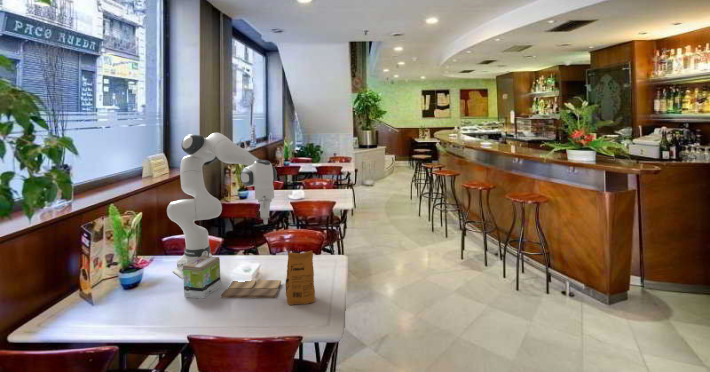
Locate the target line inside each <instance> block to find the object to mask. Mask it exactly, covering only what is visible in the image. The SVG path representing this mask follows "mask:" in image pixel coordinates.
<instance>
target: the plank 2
mask: <svg viewBox="0 0 710 372" xmlns="http://www.w3.org/2000/svg"><path fill="white" fill-rule="evenodd" d="M281 283H282V279H258V280H256V284H255V286H254V287H253V289H278V290H279V289H280V287H281Z"/></svg>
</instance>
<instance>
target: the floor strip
mask: <svg viewBox="0 0 710 372" xmlns="http://www.w3.org/2000/svg"><path fill="white" fill-rule="evenodd" d="M278 293H279V289H254V288H253V289H228V288H225V290H224V291H223V292H222V293H221V294H220V299H225V298H226V299H230V298H231V299H236V298H237V299H275V298H276V297H277V295H278Z"/></svg>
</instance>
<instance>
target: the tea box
mask: <svg viewBox="0 0 710 372" xmlns="http://www.w3.org/2000/svg"><path fill="white" fill-rule="evenodd" d="M220 261H221V260H220V256H212V257H210V256H200V257H198V258H197V259H195V260H193V261H191V262H189V263H187V264H185V265H184V266H183V279H182V280H183V295H184V298H191V299H205V298H206V297H208V296H209V295H211V293H213V292H214V291H216V290H217V289H219V288H220V287H221V285H222V284H221V262H220Z"/></svg>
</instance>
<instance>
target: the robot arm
mask: <svg viewBox="0 0 710 372" xmlns="http://www.w3.org/2000/svg"><path fill="white" fill-rule="evenodd" d="M181 149H182V150H183V152H184V153H186V154H187V155H185V156H184V157H183V158H182V159H181V161H180V166H179V169H180V170H179V171H180V172H179V176H180V177H179V179H180V188H181V190H182V192H183V193H184V194H187V195H189V196H192V197H193V198H187V199H186V198H185V199H177V200H174V201H170V203H169V204H168V205H167V208H166V214H167V217H168V218H169V220H171V221H172V222H174V223H176V224H177V226H179V227H180V229H181V230H182V231H183V235H184V240H185V241H184V242H185V247H184V248H183V251H184V253H183V255H182V256H181V257H180V258H179V259H177V262H176V267H175V268H174V269H172V273H173V274H175V275H176V276H177V277H180V279H182V280H184V279H183V266H184V265H185V264H187V263H189V262H191V261H193V260H195V259H197V258H198V257H200V256H210V257H213V255H212V253H211V245H210V240H209V238H210V237H209V232H208V229H207V228H205V227H203V226H200V225H197V224H196V223H195V221H203V220H211V219H215V218H218V217H219V216H220V215H221V213H222V210H223V205H222V203H221V201H220V200H219V198H217V197H215V196H213V195H212V194H210V193H209V192H208V190H207V187H206V184H205V180H204V173H203V166H210V165H211V164H214V163H216V162H217V161H218V160H219V161H220V162H222V163H225V164H233V165H234V164H239V165H245V166H246V167H243V168H241V171H240V175H239V179H240V182H241V183H242V185H244V186H245V187H254V199H255V200H257V203H259V205H260V206H259V208H260V209H259V210H260V211H259V212H260V219H262V220H263V224H264V225H268V224H269V221H268V220H269V219H268V218H270V209H271V202H273V201H272V200H273V199H274V198H275V187H274V182H276V180H277V176H278V172H277V170H276V168H275V166H273V165H272V163H271V161H269V160H267V159H260V158H259V157H258V156H256V155H255V154H253V153H252V152H250V151H249V150H247V149H244V148H242V147H241V146H239V145H238V144H236V143H234V142H233V140H232V139H230V138H228V137H227V136H225V134H222V133H220V132H213V133H211V134H210V135H208V137H204V136H203V135H202V134H201V135H200V134H198V135H197V134H191V133H190V134H187V135H185V137H184V138H183V139H182V141H181Z"/></svg>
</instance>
